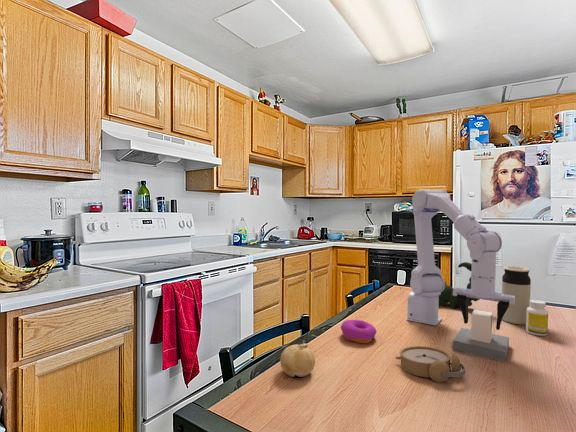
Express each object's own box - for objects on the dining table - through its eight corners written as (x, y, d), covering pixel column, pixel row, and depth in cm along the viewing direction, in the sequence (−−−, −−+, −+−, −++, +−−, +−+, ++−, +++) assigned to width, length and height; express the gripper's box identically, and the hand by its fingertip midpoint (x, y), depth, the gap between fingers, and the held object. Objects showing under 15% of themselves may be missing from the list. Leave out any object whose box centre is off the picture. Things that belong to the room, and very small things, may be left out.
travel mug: (503, 323, 114) (505, 269, 114) (499, 316, 122) (500, 265, 121) (532, 326, 111) (534, 271, 111) (525, 319, 119) (527, 267, 118)
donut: (368, 348, 94) (368, 331, 94) (334, 340, 99) (334, 324, 99) (380, 336, 103) (380, 320, 102) (348, 329, 108) (348, 314, 108)
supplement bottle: (551, 337, 102) (552, 304, 102) (530, 335, 103) (531, 303, 103) (541, 330, 108) (542, 299, 107) (522, 329, 109) (523, 298, 108)
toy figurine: (481, 313, 130) (418, 294, 148) (488, 264, 128) (423, 251, 146) (472, 319, 123) (407, 298, 142) (478, 267, 121) (412, 253, 140)
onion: (303, 385, 74) (304, 353, 74) (273, 375, 78) (273, 345, 78) (320, 370, 81) (320, 340, 81) (291, 362, 85) (291, 333, 85)
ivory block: (470, 339, 94) (471, 313, 94) (473, 334, 97) (474, 309, 97) (490, 343, 91) (490, 317, 91) (491, 338, 95) (492, 312, 94)
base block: (452, 349, 93) (452, 340, 93) (461, 336, 103) (461, 327, 103) (505, 361, 86) (505, 352, 86) (508, 346, 95) (509, 337, 95)
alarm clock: (416, 342, 91) (474, 352, 79) (418, 362, 90) (477, 375, 78) (389, 353, 84) (447, 366, 72) (391, 374, 83) (451, 390, 71)
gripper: (451, 275, 95) (449, 323, 95) (514, 282, 86) (512, 336, 87) (456, 271, 100) (455, 317, 101) (515, 277, 92) (514, 328, 92)
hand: (481, 325), depth 94 cm, fingers open, 7 cm apart
